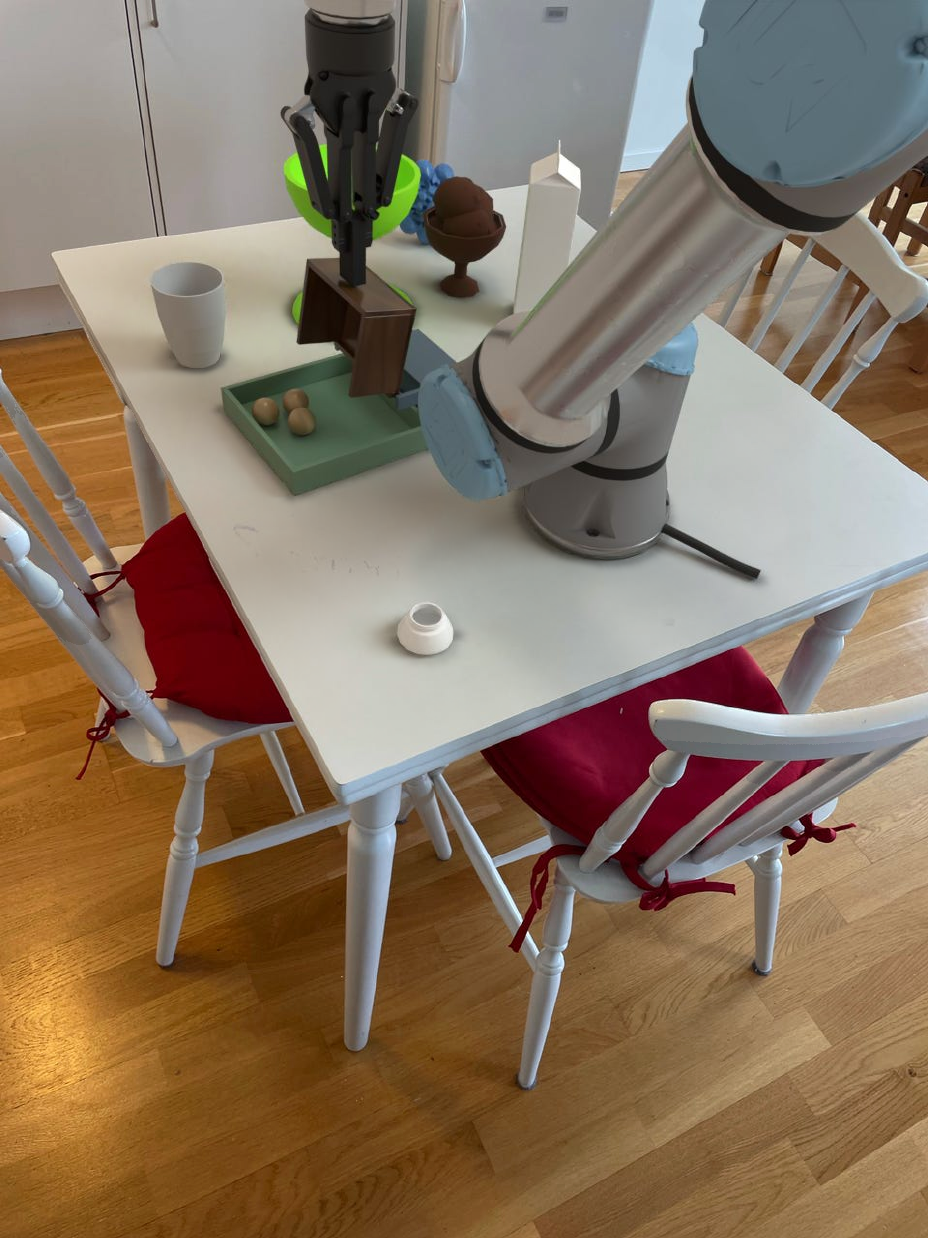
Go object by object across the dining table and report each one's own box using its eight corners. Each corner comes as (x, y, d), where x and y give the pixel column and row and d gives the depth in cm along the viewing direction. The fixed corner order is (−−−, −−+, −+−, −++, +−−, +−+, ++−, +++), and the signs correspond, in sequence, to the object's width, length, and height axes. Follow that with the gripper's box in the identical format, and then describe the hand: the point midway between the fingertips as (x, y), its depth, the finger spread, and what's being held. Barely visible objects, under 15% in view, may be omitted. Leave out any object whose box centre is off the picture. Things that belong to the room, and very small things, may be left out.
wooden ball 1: (276, 401, 103) (254, 418, 103) (288, 418, 106) (267, 435, 105) (263, 387, 105) (242, 404, 105) (276, 404, 107) (255, 421, 107)
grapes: (400, 261, 135) (403, 175, 126) (384, 240, 139) (385, 155, 131) (476, 252, 139) (483, 167, 130) (458, 231, 143) (464, 148, 134)
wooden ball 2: (312, 393, 105) (288, 402, 104) (315, 415, 108) (291, 424, 106) (299, 380, 107) (275, 388, 106) (303, 402, 109) (279, 411, 108)
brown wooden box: (420, 307, 96) (365, 311, 92) (400, 399, 102) (349, 406, 99) (359, 256, 102) (306, 258, 99) (345, 346, 109) (295, 350, 105)
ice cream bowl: (492, 313, 127) (503, 200, 116) (410, 299, 128) (414, 185, 117) (505, 276, 135) (517, 166, 124) (428, 263, 135) (433, 153, 125)
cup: (215, 332, 119) (206, 255, 112) (244, 364, 115) (236, 286, 107) (152, 348, 115) (138, 270, 108) (180, 382, 111) (167, 302, 104)
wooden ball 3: (297, 444, 104) (321, 435, 105) (294, 421, 102) (319, 412, 103) (284, 429, 106) (308, 421, 107) (281, 407, 103) (306, 398, 105)
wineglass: (266, 316, 122) (254, 173, 109) (338, 269, 132) (335, 132, 119) (371, 357, 118) (372, 212, 105) (437, 304, 128) (445, 166, 115)
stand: (471, 423, 110) (476, 373, 105) (396, 448, 106) (398, 398, 101) (408, 364, 117) (409, 315, 112) (335, 386, 113) (334, 336, 108)
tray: (434, 447, 106) (435, 424, 104) (294, 495, 99) (293, 472, 97) (356, 371, 115) (356, 348, 113) (223, 410, 108) (220, 387, 106)
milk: (557, 312, 129) (586, 141, 113) (557, 335, 125) (587, 161, 109) (512, 307, 129) (534, 135, 113) (510, 330, 125) (533, 155, 109)
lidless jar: (450, 660, 85) (454, 619, 88) (452, 638, 83) (456, 597, 86) (394, 654, 85) (400, 614, 88) (395, 632, 83) (401, 591, 86)
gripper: (393, -9, 84) (388, 250, 101) (257, 5, 78) (277, 276, 96) (440, 16, 80) (427, 281, 97) (300, 33, 74) (312, 311, 92)
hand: (352, 279), depth 96 cm, fingers closed
